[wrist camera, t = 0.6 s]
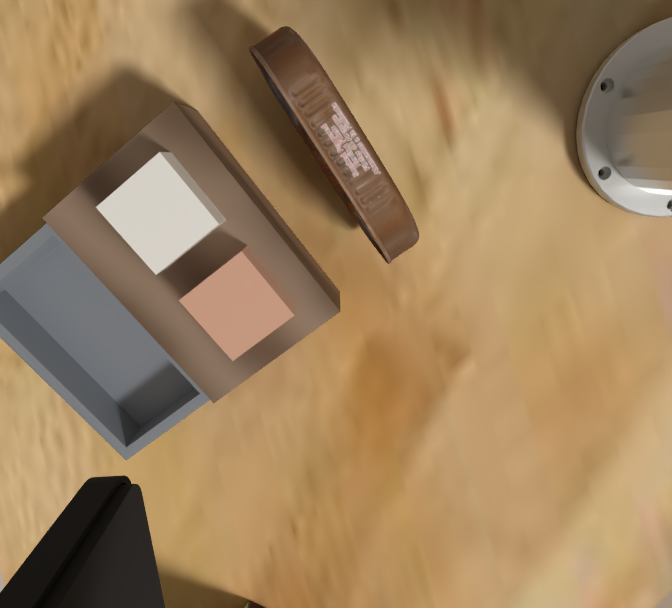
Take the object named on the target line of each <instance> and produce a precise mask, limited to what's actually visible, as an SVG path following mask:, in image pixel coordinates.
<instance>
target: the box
mask: <svg viewBox="0 0 672 608" xmlns="http://www.w3.org/2000/svg"><path fill="white" fill-rule="evenodd" d="M0 338H1V339H2V340H3V341H4V342H5V343H6V344H8V345H9V346H10V347H11V348H12V349H13V350H14V351H15V352H16V353H17V354H18V355H19V356H20V357H21V358H22V359H23V360H24V361H25V362H26V363H27V364H28V365H29V366H30V367H31V368H32V369H33V370H34V371H35V372H36V373H37V374H38V375H39V376H40V377H41V378H42V379H43V380H44V381H45V382H46V383H47V384H48V385H49V386H50V387H52V388H53V389H54V390H55V391H56V392H57V393H58V394H59V395H60V396H61V397H62V398H63V399H64V400H65V401H66V402H67V403H68V404H69V405H70V406H71V407H72V408H73V409H74V410H75V411H76V412H77V413H78V414H79V415H80V416H81V417H82V418H83V419H84V420H85V421H86V422H87V423H88V424H89V425H90V426H91V427H92V428H93V429H94V430H96V431H97V432H98V433H99V434H100V435H101V436H102V437H103V438H104V439H105V440H106V441H107V442H108V443H109V444H110V445H111V446H112V447H113V448H114V449H115V450H116V451H117V452H118V453H119V454H120V455H121V456H122V457H123V458H124V459H125V460H128V459H129V458H130V457H132V456H133V455H135V454H136V453H137V452H139V451H140V450H141V449H143V448H144V447H146V446H147V445H148V444H150V443H151V442H152V441H154V440H155V439H156V438H158V437H159V436H161V435H162V434H163V433H165V432H166V431H167V430H169V429H170V428H172V427H173V426H174V425H176V424H177V423H178V422H180V421H181V420H183V419H184V418H185V417H187V416H188V415H189V414H191V413H192V412H194V411H195V410H196V409H198V408H199V407H200V406H202V405H203V404H205V403H206V402H207V401H209V400H210V399H209V398H208V396H207V395H206V394H205V393H204V392H203V391H202V390H201V389H200V388H199V387H198V386H197V385H196V383H195V382H194V381H193V380H192V379H191V378H190V377H189V376H188V375H187V374H186V373H185V372H184V371H183V369H182V368H181V367H180V366H179V365H178V364H177V363H176V362H175V361H174V360H173V359H172V358H171V357H170V355H169V354H168V353H167V352H166V351H165V350H164V349H163V348H162V347H161V346H160V345H159V344H158V343H157V341H156V340H155V339H154V338H153V337H152V336H151V335H150V334H149V333H148V332H147V331H146V330H145V328H144V327H143V326H142V325H141V324H140V323H139V322H138V321H137V320H136V319H135V318H134V317H133V316H132V314H131V313H130V312H129V311H128V310H127V309H126V308H125V307H124V306H123V305H122V304H121V303H120V302H119V300H118V299H117V298H116V297H115V296H114V295H113V294H112V293H111V292H110V291H109V290H108V289H107V287H106V286H105V285H104V284H103V283H102V282H101V281H100V280H99V279H98V278H97V277H96V276H95V275H94V273H93V272H92V271H91V270H90V269H89V268H88V267H87V266H86V265H85V264H84V263H83V262H82V261H81V259H80V258H79V257H78V256H77V255H76V254H75V253H74V252H73V251H72V250H71V249H70V248H69V247H68V245H67V244H66V243H65V242H64V241H63V240H62V239H61V238H60V237H59V236H58V235H57V234H56V232H55V231H54V230H53V229H52V228H51V227H50V226H49V225H48V224H47V223H46V224H45V225H44V226H43V227H42V228H41V229H39V230H38V231H37V232H36V233H35V234H34V235H33V236H31V237H30V238H29V239H28V240H27V241H26V242H25V243H24V244H22V245H21V246H20V247H19V248H18V249H17V250H16V251H14V252H13V253H12V254H11V255H10V256H9V257H8V258H7V259H5V260H4V261H3V262H2V263H1V264H0Z"/></svg>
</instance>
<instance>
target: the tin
mask: <svg viewBox="0 0 672 608" xmlns="http://www.w3.org/2000/svg"><path fill="white" fill-rule="evenodd" d="M249 50H250V53H251V55H252V56H253V58H254V60H255V62H256V63H257V65H258V67H259V68H260V70H261V72H262V74H263V76H264V77H265V79H266V81H267V83H268V85H269V86H270V88H271V90H272V91H273V93H274V95H275V96H276V98H277V99H278V101H279V102H280V104H281V106H282V107H283V109H284V110H285V111H286V113H287V115H288V116H289V118H290V119H291V121H292V123H293V124H294V126H295V127H296V129H297V130H298V132H299V133H300V135H301V137H302V138H303V140H304V141H305V143H306V144H307V146H308V147H309V149H310V150H311V152H312V153H313V155H314V157H315V158H316V160H317V161H318V163H319V164H320V166H321V167H322V169H323V171H324V172H325V174H326V175H327V177H328V178H329V180H330V181H331V183H332V184H333V186H334V188H335V189H336V191H337V192H338V194H339V195H340V197H341V198H342V200H343V201H344V203H345V204H346V206H347V207H348V209H349V211H350V212H351V214H352V215H353V216H354V218H355V219H356V221H357V222H358V224H359V225H360V227H361V228H362V230H363V231H364V233H365V234H366V236H367V237H368V238H369V240H370V241H371V242H372V244H373V245H374V247H375V248H376V249H377V251H378V252H379V253H380V254H381V256H382V257H383V258H384V260H385V261H386V262H387V263H388V264H389V263H391V261H392V260H393V259H394V258H396V257H397V256H399V255H400V254H402V253H403V252H405V251H406V250H408V249H409V248H411V247H412V246H413V245H415V244H416V243H417V241H418V239H419V232H418V228H417V226H416V223H415V220H414V218H413V216H412V214H411V212H410V210H409V208H408V206H407V204H406V203H405V201H404V199H403V197H402V195H401V194H400V192H399V190H398V188H397V187H396V185H395V183H394V182H393V180H392V179H391V177H390V175H389V173H388V172H387V170H386V169H385V167H384V165H383V164H382V162H381V160H380V159H379V157H378V155H377V154H376V152H375V150H374V149H373V147H372V145H371V144H370V142H369V141H368V139H367V137H366V136H365V134H364V132H363V131H362V129H361V127H360V126H359V124H358V123H357V121H356V119H355V118H354V116H353V115H352V113H351V111H350V110H349V108H348V107H347V105H346V104H345V102H344V100H343V99H342V97H341V95H340V94H339V92H338V91H337V89H336V88H335V86H334V85H333V83H332V81H331V80H330V78H329V77H328V75H327V73H326V72H325V70H324V69H323V67H322V66H321V64H320V63H319V61H318V60H317V58H316V57H315V55H314V54H313V53H312V51H311V50H310V48H309V47H308V46H307V44H306V43H305V42H304V41H303V40H302V38H301V37H300V36H299V35H298V34H297V33H296V32H295V31H294V30H293V29H291V28H290V27H286V26H285V27H281V28H279V29H278V30H276V31H275V32H273V33H272V34H271V35H269V36H268V37H267V38H265V39H264V40H263V41H261V42H260V43H258V44H257V45H256V46H251V47H250V48H249Z"/></svg>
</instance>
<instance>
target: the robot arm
mask: <svg viewBox="0 0 672 608" xmlns="http://www.w3.org/2000/svg"><path fill="white" fill-rule="evenodd" d="M601 84H602V85H603V90H602V91H601V87H600V86H601ZM576 140H577V152H578V156H579V159H580V163H581V167H582V170H583V171H584V173H585V175H586V177H587V179H588V181H589V183H590V184H591V186H592V187H593V188H594V189H595V190H596V191H597V193H598V194H599V195H600V196H601V197H602V198H604V199H605V200H606V201H608V202H609V203H610V204H612V205H613V206H615V207H617V208H620V209H622V210H624V211H626V212H630V213H634V214H638V215H643V216H652V217H672V17H670V18H667V19H665V20H662V21H660V22H657V23H654V24H652V25H650V26H648V27H646V28H644V29H642V30H640V31H638V32H636V33H635V34H633V35H632V36H631V37H629V38H628V39H627V40H625V41H624V42H623V43H621V44H620V45H619V46H618V47H617V48H616V49H615V50H614V51H613V52H612V53H611V54H610V55H609V56H608V57H607V58H606V59H605V60H604V62H603V63H602V64H601V66H600V67H599V69H598V70H597V72H596V73H595V75H594V76H593V78H592V79H591V82H590V84H589V86H588V88H587V90H586V92H585V94H584V96H583V100H582V103H581V107H580V110H579V114H578V121H577V130H576ZM599 170H601V174H600V176H598V172H599ZM667 204H668V205H667ZM0 608H165V605H164V600H163V595H162V590H161V585H160V580H159V575H158V570H157V566H156V561H155V556H154V551H153V546H152V541H151V536H150V531H149V526H148V521H147V516H146V511H145V506H144V501H143V496H142V491H141V488H140V486H139V485H137V484H131V481H130V480H129V478H128V477H127V476H109V477H93V478H90V479H88V480H87V481H86V482H85V483H84V484H83V486H82V487H81V488H80V490H79V491H78V492H77V494H76V495H75V496H74V497H73V499H72V500H71V501H70V503H69V504H68V505H67V507H66V508H65V509H64V511H63V512H62V513H61V514H60V516H59V517H58V518H57V520H56V521H55V522H54V524H53V525H52V526H51V527H50V529H49V530H48V531H47V533H46V534H45V535H44V537H43V538H42V539H41V541H40V542H39V543H38V544H37V546H36V547H35V548H34V550H33V551H32V552H31V554H30V555H29V556H28V557H27V559H26V560H25V561H24V563H23V564H22V565H21V567H20V568H19V569H18V571H17V572H16V573H15V574H14V576H13V577H12V578H11V580H10V581H9V582H8V584H7V585H6V586H5V587H4V589H3V590H2V591H1V593H0Z"/></svg>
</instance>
